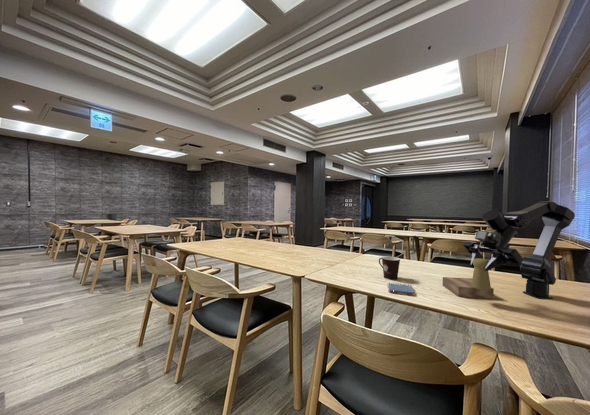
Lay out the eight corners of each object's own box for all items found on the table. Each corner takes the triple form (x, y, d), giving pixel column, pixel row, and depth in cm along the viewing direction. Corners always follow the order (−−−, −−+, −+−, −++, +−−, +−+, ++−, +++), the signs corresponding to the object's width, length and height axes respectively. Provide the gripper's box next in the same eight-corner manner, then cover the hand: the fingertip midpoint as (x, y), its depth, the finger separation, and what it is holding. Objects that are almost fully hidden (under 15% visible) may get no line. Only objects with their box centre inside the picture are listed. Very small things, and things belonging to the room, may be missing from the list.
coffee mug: (402, 280, 115) (403, 260, 115) (385, 280, 115) (385, 260, 115) (393, 273, 126) (393, 255, 126) (377, 273, 126) (377, 255, 126)
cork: (493, 291, 86) (493, 261, 86) (472, 288, 89) (473, 259, 88) (488, 286, 91) (488, 258, 91) (469, 283, 94) (469, 256, 94)
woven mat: (412, 289, 105) (412, 284, 105) (415, 297, 95) (416, 292, 95) (387, 286, 108) (387, 281, 108) (388, 294, 98) (388, 289, 98)
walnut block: (473, 287, 106) (473, 278, 106) (493, 298, 94) (493, 288, 94) (442, 285, 108) (442, 277, 108) (458, 296, 95) (458, 286, 95)
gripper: (466, 222, 100) (445, 249, 97) (517, 226, 81) (492, 259, 79) (480, 239, 102) (460, 266, 99) (533, 247, 83) (510, 280, 81)
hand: (478, 267), depth 89 cm, fingers closed on cork, 5 cm apart
